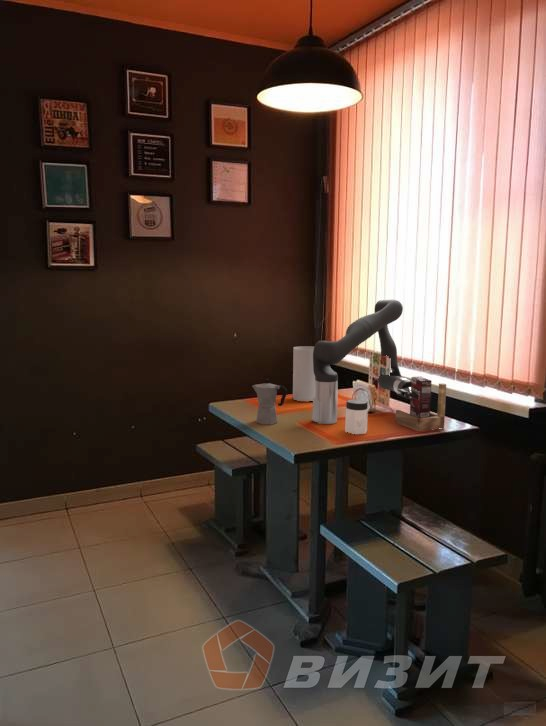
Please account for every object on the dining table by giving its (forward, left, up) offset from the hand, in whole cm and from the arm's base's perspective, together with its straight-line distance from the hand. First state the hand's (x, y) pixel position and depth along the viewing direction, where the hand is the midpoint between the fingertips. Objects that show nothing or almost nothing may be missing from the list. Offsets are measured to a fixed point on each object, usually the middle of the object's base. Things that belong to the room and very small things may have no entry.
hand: (423, 396), depth 238 cm
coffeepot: (-54, +28, -13) cm, 63 cm away
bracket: (0, +2, -12) cm, 13 cm away
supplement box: (0, +3, -9) cm, 10 cm away
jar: (-28, +3, -13) cm, 31 cm away
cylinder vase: (-22, +61, -13) cm, 67 cm away
